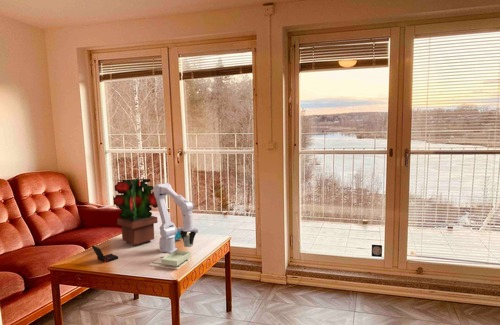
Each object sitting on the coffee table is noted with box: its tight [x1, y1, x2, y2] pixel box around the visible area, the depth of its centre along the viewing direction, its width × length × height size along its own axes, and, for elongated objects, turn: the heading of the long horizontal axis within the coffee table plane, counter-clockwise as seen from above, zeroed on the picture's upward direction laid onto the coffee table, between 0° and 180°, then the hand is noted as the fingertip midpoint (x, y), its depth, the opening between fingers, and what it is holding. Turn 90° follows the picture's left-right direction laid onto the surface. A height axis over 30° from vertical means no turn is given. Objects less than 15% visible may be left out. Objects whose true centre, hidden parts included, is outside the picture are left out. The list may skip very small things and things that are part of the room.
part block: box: [183, 234, 194, 248], centre depth 206 cm, size 4×4×6 cm
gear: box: [175, 231, 183, 242], centre depth 241 cm, size 11×6×10 cm
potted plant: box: [112, 177, 158, 247], centre depth 234 cm, size 22×22×45 cm
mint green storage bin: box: [161, 249, 192, 266], centre depth 195 cm, size 10×15×4 cm
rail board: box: [149, 255, 191, 270], centre depth 197 cm, size 19×14×1 cm
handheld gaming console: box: [91, 245, 119, 264], centre depth 203 cm, size 9×12×10 cm
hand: (188, 243), depth 206 cm, fingers closed on part block, 4 cm apart
